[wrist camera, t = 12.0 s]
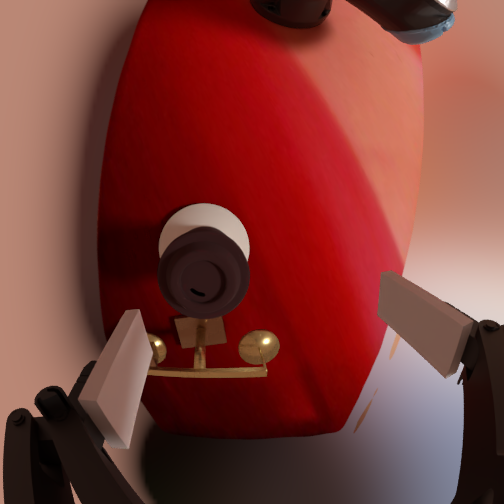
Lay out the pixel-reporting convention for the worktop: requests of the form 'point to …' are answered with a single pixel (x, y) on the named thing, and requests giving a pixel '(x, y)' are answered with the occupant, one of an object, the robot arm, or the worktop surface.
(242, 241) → the saucer
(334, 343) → the worktop surface
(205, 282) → the coffee cup
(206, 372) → the balance
